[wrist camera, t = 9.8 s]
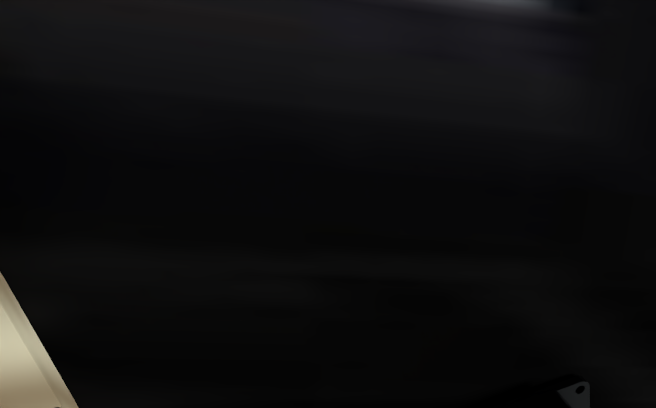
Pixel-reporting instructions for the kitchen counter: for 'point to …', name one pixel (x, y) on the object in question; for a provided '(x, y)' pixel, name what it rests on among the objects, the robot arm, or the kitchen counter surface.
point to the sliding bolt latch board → (26, 362)
